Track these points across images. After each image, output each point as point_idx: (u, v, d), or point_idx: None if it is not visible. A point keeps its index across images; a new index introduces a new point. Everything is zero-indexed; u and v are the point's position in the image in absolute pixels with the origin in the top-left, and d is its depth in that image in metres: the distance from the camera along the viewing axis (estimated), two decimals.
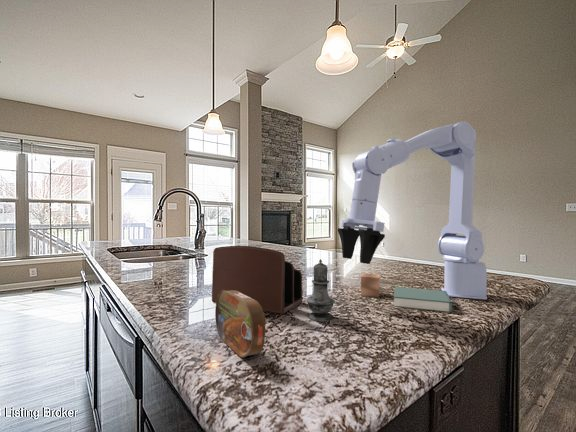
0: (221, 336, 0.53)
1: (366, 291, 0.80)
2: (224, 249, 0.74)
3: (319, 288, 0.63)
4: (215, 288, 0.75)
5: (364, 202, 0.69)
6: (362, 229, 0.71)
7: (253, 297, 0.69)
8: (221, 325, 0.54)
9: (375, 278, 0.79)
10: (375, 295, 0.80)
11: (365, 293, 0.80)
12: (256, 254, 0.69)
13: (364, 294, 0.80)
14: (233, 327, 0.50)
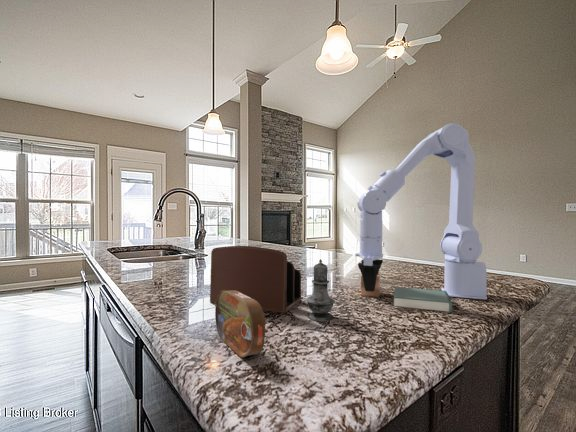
0: (221, 336, 0.53)
1: (366, 291, 0.80)
2: (223, 249, 0.73)
3: (319, 288, 0.63)
4: (213, 289, 0.74)
5: (364, 239, 0.80)
6: None
7: (254, 297, 0.69)
8: (221, 325, 0.54)
9: None
10: (375, 295, 0.80)
11: (365, 292, 0.80)
12: (257, 254, 0.69)
13: (364, 294, 0.80)
14: (233, 327, 0.50)
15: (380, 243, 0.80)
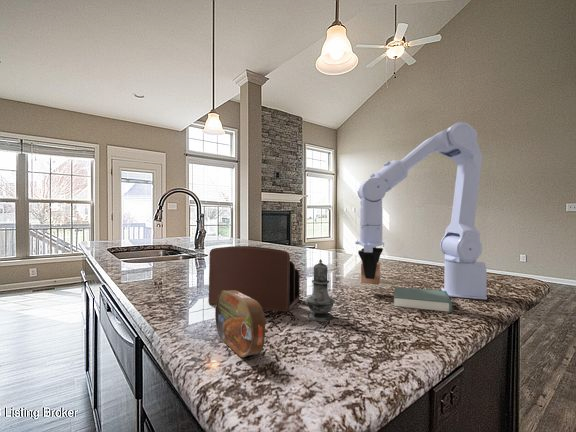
0: (221, 336, 0.53)
1: (366, 279, 0.80)
2: (222, 250, 0.72)
3: (319, 288, 0.63)
4: (212, 290, 0.72)
5: (364, 226, 0.80)
6: None
7: (256, 297, 0.69)
8: (221, 325, 0.54)
9: None
10: (375, 282, 0.79)
11: (365, 280, 0.80)
12: (259, 254, 0.69)
13: (364, 281, 0.80)
14: (233, 327, 0.50)
15: (380, 230, 0.80)
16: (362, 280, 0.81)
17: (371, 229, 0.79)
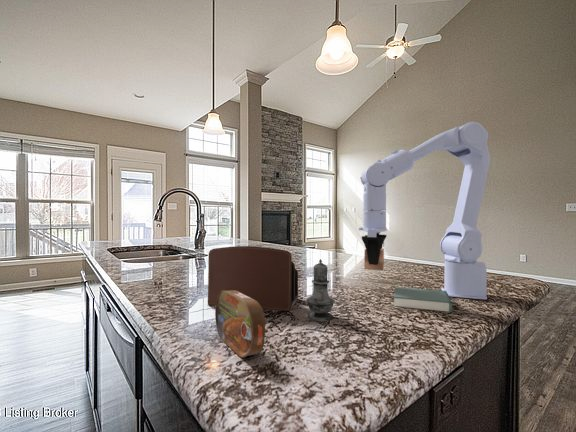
0: (221, 336, 0.53)
1: (369, 265, 0.80)
2: (222, 250, 0.71)
3: (319, 288, 0.63)
4: (212, 291, 0.72)
5: (367, 212, 0.79)
6: None
7: (257, 297, 0.69)
8: (221, 325, 0.54)
9: None
10: (379, 268, 0.79)
11: (369, 266, 0.80)
12: (260, 254, 0.70)
13: (368, 267, 0.80)
14: (233, 327, 0.50)
15: (384, 216, 0.79)
16: (365, 266, 0.80)
17: (375, 214, 0.78)
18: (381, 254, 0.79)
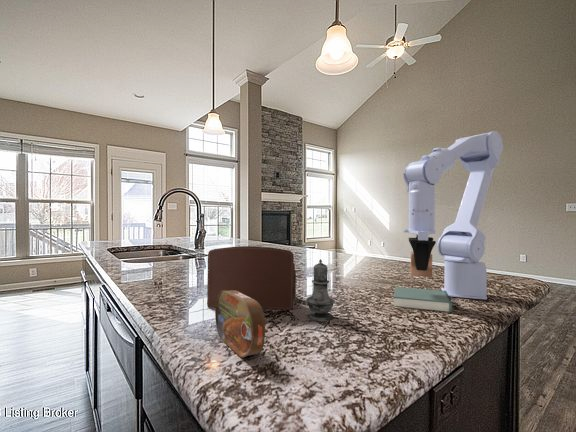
0: (221, 336, 0.53)
1: (417, 271, 0.72)
2: (223, 251, 0.71)
3: (319, 288, 0.63)
4: (211, 292, 0.71)
5: (415, 212, 0.72)
6: None
7: (259, 297, 0.70)
8: (221, 325, 0.54)
9: None
10: (428, 274, 0.71)
11: (416, 272, 0.72)
12: (262, 254, 0.70)
13: (415, 273, 0.72)
14: (233, 327, 0.50)
15: (433, 217, 0.72)
16: (412, 272, 0.73)
17: (423, 215, 0.71)
18: (430, 259, 0.71)
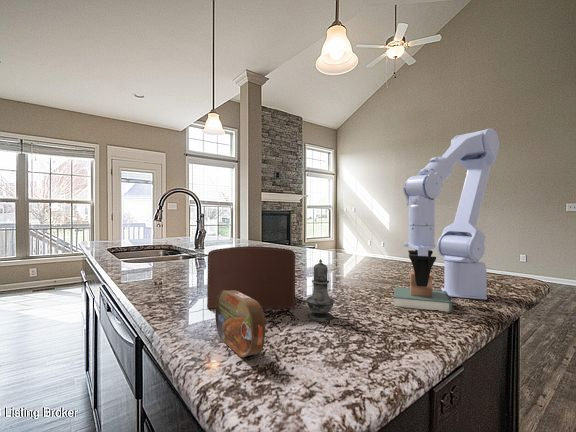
0: (221, 336, 0.53)
1: (417, 291, 0.72)
2: (223, 251, 0.70)
3: (319, 288, 0.63)
4: (212, 294, 0.69)
5: (414, 227, 0.72)
6: None
7: (261, 297, 0.70)
8: (221, 325, 0.54)
9: None
10: (427, 295, 0.72)
11: (416, 292, 0.72)
12: (264, 254, 0.70)
13: (415, 293, 0.72)
14: (233, 327, 0.50)
15: (433, 232, 0.72)
16: (412, 292, 0.73)
17: (423, 230, 0.71)
18: (430, 279, 0.71)
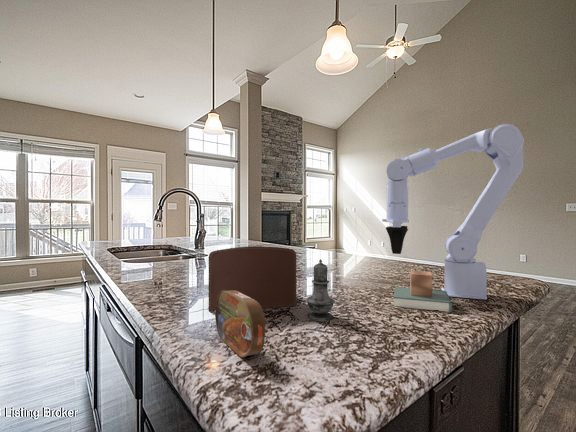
0: (221, 336, 0.53)
1: (417, 291, 0.72)
2: (225, 252, 0.69)
3: (319, 288, 0.63)
4: (214, 296, 0.68)
5: (391, 204, 0.85)
6: None
7: (263, 296, 0.70)
8: (221, 325, 0.54)
9: (428, 276, 0.71)
10: (428, 295, 0.72)
11: (416, 292, 0.72)
12: (266, 253, 0.70)
13: (415, 293, 0.72)
14: (233, 327, 0.50)
15: (406, 208, 0.85)
16: (412, 292, 0.73)
17: (398, 207, 0.84)
18: (430, 279, 0.71)
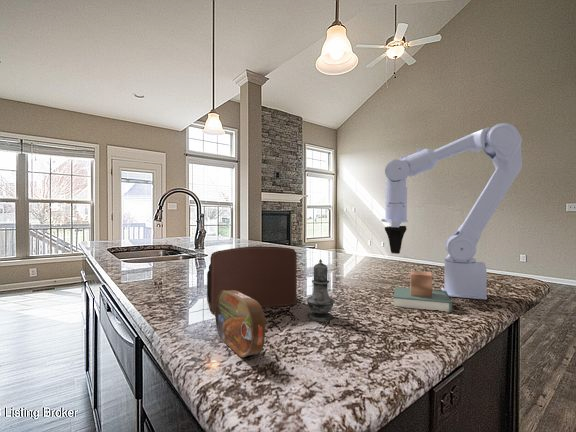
0: (221, 336, 0.53)
1: (417, 291, 0.72)
2: (227, 252, 0.68)
3: (319, 288, 0.63)
4: (216, 297, 0.67)
5: (390, 205, 0.86)
6: None
7: (265, 296, 0.70)
8: (221, 325, 0.54)
9: (428, 276, 0.71)
10: (428, 295, 0.71)
11: (416, 292, 0.72)
12: (267, 253, 0.71)
13: (415, 294, 0.72)
14: (233, 327, 0.50)
15: (405, 208, 0.86)
16: (412, 292, 0.72)
17: (397, 207, 0.85)
18: (430, 279, 0.71)
